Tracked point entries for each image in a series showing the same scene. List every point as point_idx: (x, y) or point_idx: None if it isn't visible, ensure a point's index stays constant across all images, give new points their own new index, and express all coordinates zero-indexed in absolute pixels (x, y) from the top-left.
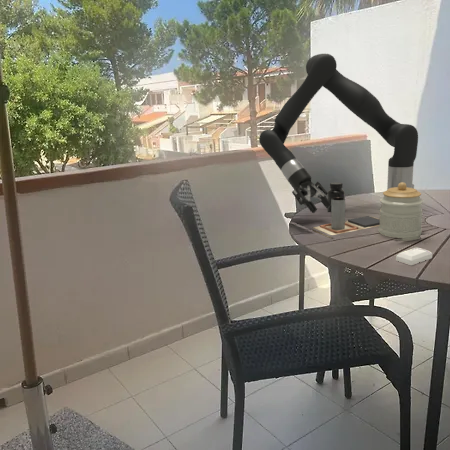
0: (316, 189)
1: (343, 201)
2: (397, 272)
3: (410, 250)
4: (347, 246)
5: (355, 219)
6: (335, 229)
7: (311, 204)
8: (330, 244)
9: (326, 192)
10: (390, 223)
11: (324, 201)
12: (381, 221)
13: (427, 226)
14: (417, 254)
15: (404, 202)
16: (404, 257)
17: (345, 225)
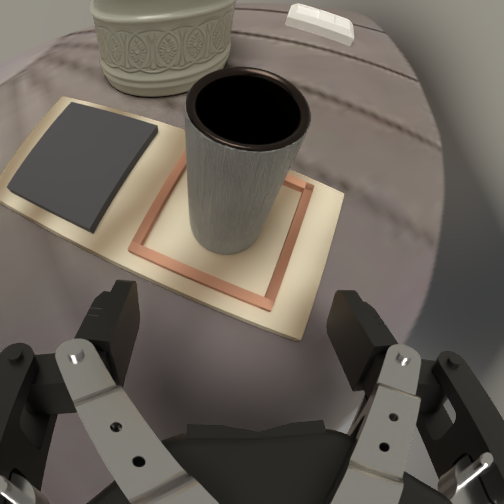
0: (159, 450)
1: (258, 77)
2: (390, 47)
3: (323, 18)
4: (359, 132)
5: (72, 200)
6: None
7: (376, 330)
8: (384, 180)
9: (14, 355)
10: (232, 19)
11: (123, 342)
12: (213, 38)
13: (50, 58)
14: (333, 14)
15: None
16: (352, 29)
17: (163, 211)
